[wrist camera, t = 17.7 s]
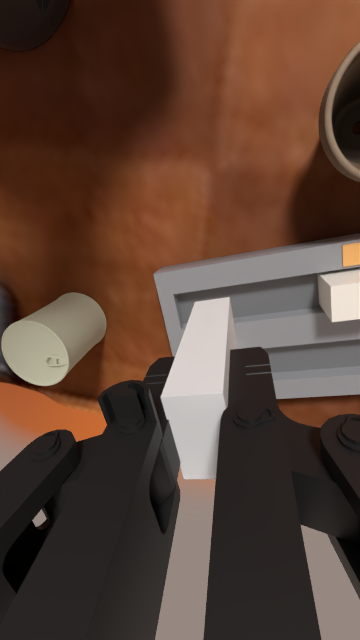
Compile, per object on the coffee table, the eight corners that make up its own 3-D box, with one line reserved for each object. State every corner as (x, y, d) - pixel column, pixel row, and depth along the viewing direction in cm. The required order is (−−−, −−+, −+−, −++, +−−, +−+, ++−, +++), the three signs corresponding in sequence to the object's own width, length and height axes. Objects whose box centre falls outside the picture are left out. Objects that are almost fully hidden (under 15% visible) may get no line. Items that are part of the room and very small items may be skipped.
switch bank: (160, 267, 43) (152, 274, 39) (407, 224, 35) (427, 228, 31) (188, 388, 49) (184, 405, 45) (400, 374, 42) (416, 391, 38)
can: (105, 351, 50) (67, 396, 39) (52, 339, 51) (1, 379, 40) (108, 298, 46) (66, 331, 35) (51, 286, 47) (-7, 314, 36)
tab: (317, 272, 37) (330, 286, 31) (363, 266, 36) (385, 278, 30) (319, 304, 38) (331, 322, 33) (363, 298, 37) (384, 316, 32)
